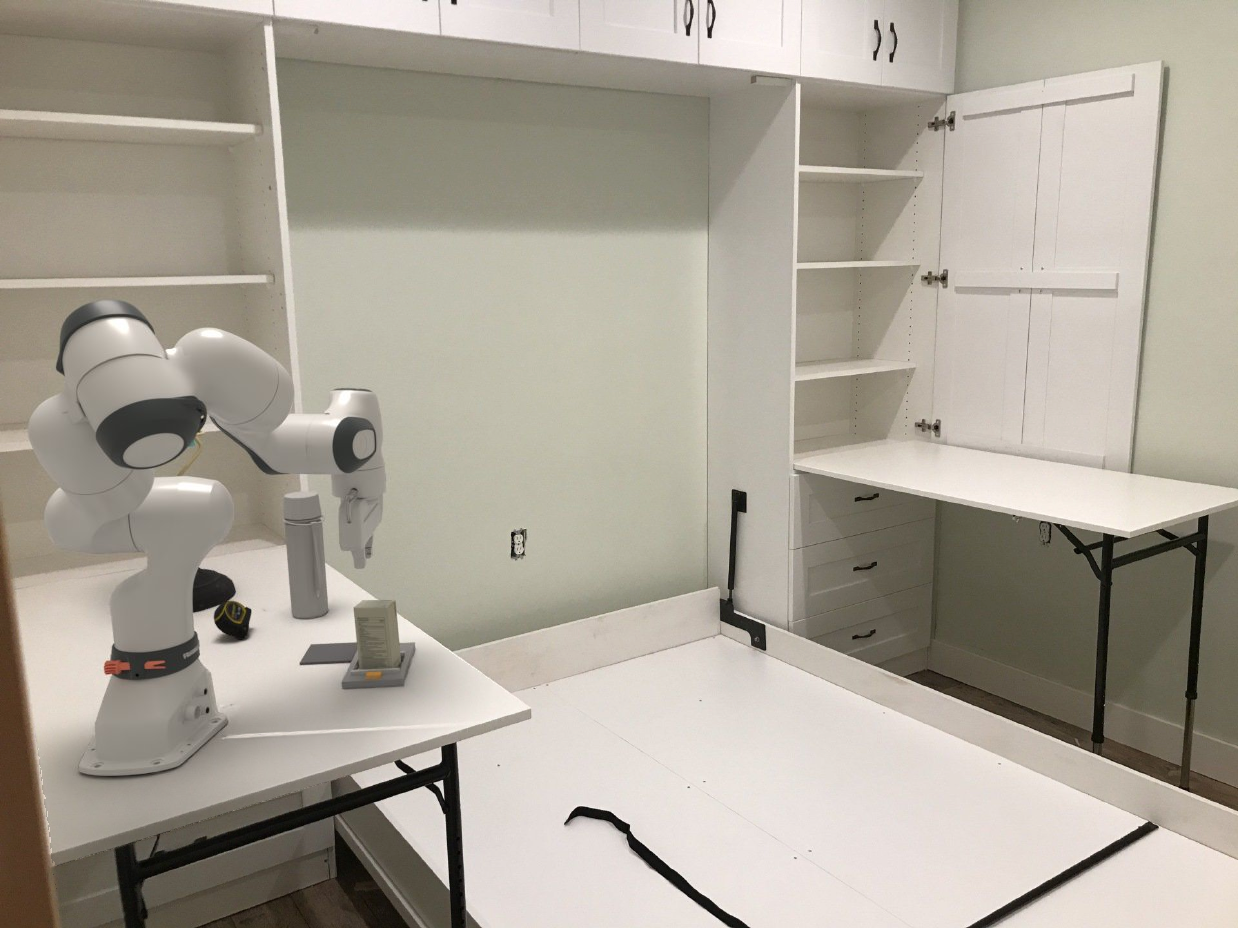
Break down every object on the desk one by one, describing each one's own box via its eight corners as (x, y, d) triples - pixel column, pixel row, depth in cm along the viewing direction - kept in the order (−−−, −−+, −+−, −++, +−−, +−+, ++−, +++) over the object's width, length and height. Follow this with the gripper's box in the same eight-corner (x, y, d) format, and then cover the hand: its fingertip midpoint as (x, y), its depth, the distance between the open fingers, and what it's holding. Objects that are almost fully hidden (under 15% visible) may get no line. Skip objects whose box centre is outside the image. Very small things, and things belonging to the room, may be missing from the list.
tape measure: (239, 645, 186) (251, 633, 185) (206, 629, 183) (218, 617, 182) (244, 620, 192) (256, 608, 191) (213, 604, 188) (224, 592, 187)
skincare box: (402, 666, 172) (398, 599, 169) (393, 676, 167) (389, 607, 165) (366, 665, 172) (362, 598, 170) (357, 674, 168) (352, 606, 166)
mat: (351, 662, 174) (351, 660, 174) (299, 664, 173) (299, 662, 173) (360, 644, 182) (360, 641, 182) (311, 646, 182) (310, 644, 182)
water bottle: (283, 615, 199) (274, 495, 195) (319, 606, 205) (310, 488, 200) (305, 625, 193) (295, 501, 188) (341, 616, 198) (333, 495, 194)
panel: (403, 685, 163) (402, 675, 163) (342, 688, 162) (341, 678, 162) (415, 648, 180) (414, 639, 180) (359, 650, 179) (359, 641, 179)
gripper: (366, 495, 155) (372, 579, 158) (387, 471, 175) (391, 546, 178) (326, 497, 155) (332, 581, 157) (351, 472, 175) (356, 547, 177)
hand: (363, 562), depth 168 cm, fingers open, 5 cm apart
